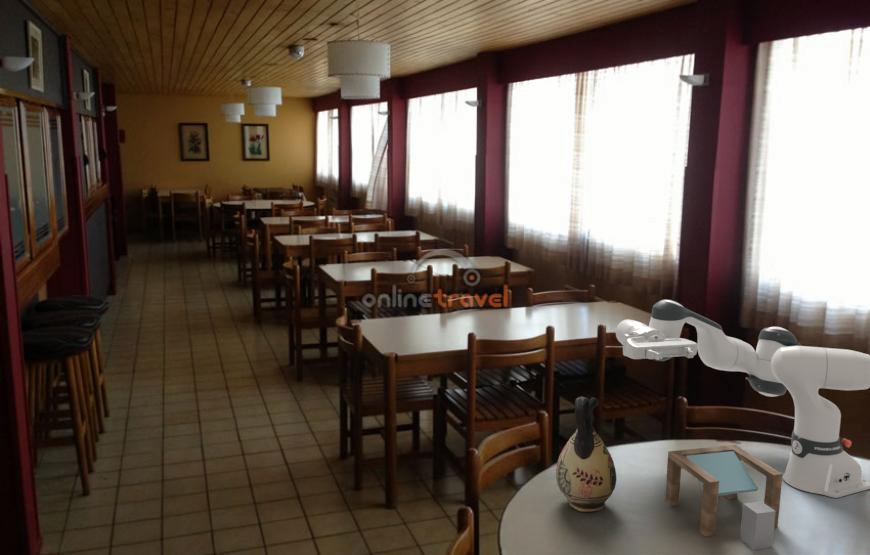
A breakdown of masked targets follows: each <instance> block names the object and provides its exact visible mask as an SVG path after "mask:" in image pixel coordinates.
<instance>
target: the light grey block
mask: <svg viewBox="0 0 870 555" xmlns="http://www.w3.org/2000/svg"><path fill="white" fill-rule="evenodd" d="M775 512H776V511H775V510H773V509H772V508H770V507H769V506H767V505H766V504H765V503H764V501H761V500H760V501H753V502H745V503H742V513H741V514H742V515H741V524H740V535H739V536H740V538H739V539H740V540H741V541H743V542H744V543H745V544H747V546H749V547H750V548H752V550H758V549H759V550H760V549H764V548H767V549H768V548H772V547H773V543H774V533H775V532H774V531H775V528H774V523H775Z"/></svg>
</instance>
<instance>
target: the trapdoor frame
mask: <svg viewBox="0 0 870 555" xmlns="http://www.w3.org/2000/svg"><path fill="white" fill-rule="evenodd" d="M730 451H734V453H735V454H736V456H737V457H738V459H739V460H740V461H742V462H743V463H745V464H746V465H748V466H749V467H751V468H752V469H754V470H756V471H757V472H759V473H760V474H762V475H763V476H765V477H766V479H765V486H764V487H765V488H764V498H763V503H765V504H766V505H767V506H769V507H770V508H772V509H773V510H775V511H776V512H775V523H774V529H775V528H778V527H779V517H780V516H779V515H780V506H781V496H782V484H783V475H784V473H782V472H780V471H779V470H778V469H775V468H773V467H772V466H770V465H769V464H767V463H766V462H764V461H762V460H760V459H759V458H757V457H755V455H753V454H751V453H749V452H747V451H746V450H744V449H742V448H741V447H739V446H738V445H737V444H730V445H719V446H711V447H702V448H701V447H699V448H693V449H692V448H691V449H681V450H679V449H678V450H670V451H667V452H668V453H667V462H666V463H667V464H666V481H665V494H664V495H665V496H664V497H665V498H664V503H666V504H667V505H669V506H670V507H671V506H679V505H680V490H681V477H682V469H683V470H685V471H686V472H688V474H690V475H691V476H692V477H694V478H695V479H696V480H697V479H698V480H699V481H701V482H702V483H703V488H702V498H701V508H700V509H701V511H700V512H701V513H700V525H699V532H700V533H701V534H702V535H704V536H705V537H715V536H716V527H717V526H716V525H717V517H718V516H717V515H718V512H717V511H718V502H719V501H718V500H719V496H718V491H719V481H718V480H717V479H716V478H714V477H713V476H711V475H710V474H709V473H707V472H706V471H704V470H703V469H702V468H700V467H699V466H698V465H696V464H695V463H693V462H692V461H691V460H689V459H688V458H686V456H690V455H700V454H710V453H720V452H730ZM698 480H697V481H698ZM738 494H739V493H736V494H728V495H723V496H724V497H725V498H727V499H728V500H732V499H737V498H738Z"/></svg>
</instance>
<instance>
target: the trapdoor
mask: <svg viewBox="0 0 870 555" xmlns="http://www.w3.org/2000/svg"><path fill="white" fill-rule="evenodd" d="M686 458H688V459H689V460H691V461H692V462H693V463H695V464H696V465H698V466H699V467H700V468H702V469H703V470H704V471H706V472H707V473H709V474H710V475H711V476H713V477H714V478H716V479H717V480H718V481H719V491H718V497H719V496H724V495H728V494H736V493H738V494H743V493H753V492H758V491H759V487H758V485H757V484H756V482H755V480H754V479H753V478H752V477H751V475H750V474H749V472H748V470H747V469H746V468H745V466H744V465H743V464H742V462H741V460H739V459H738V457H737V456H736V454H735V453H734V451H730V452H720V453H710V454H700V455H690V456H686ZM696 480H697V481H698V484H699V485H700V486H701V488H702V489H703V483H702V482H701V481H699V480H698V479H697V478H696Z"/></svg>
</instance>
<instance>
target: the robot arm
mask: <svg viewBox="0 0 870 555" xmlns="http://www.w3.org/2000/svg"><path fill="white" fill-rule="evenodd" d="M685 324H688V325H691V326H693V327H695V329H696V333H697V335H696V336H697V342H695V341H693V340H690V339H687V338H682V337H681V335H682V330H683V327H684V325H685ZM615 338H616V339H617V341H618V342H619V343H620V344H621V345H622V355H623V356H624V357H628V358H630V359H632V360H643V359H645V360H646V359H648V360H651V361H656V362H665V361H669V360H670V359H672V358H674V357H685V358H687V359H693V358H694V356H696V355H697V353H698V356H699V358H700V360H701V361H702V363H703V364H704V365H705V366H707V367H710V368H712V369H714V370H718V371H725V372H741V373H746V374H748V376H749V377H747V376H745V380H747V381H748V382H749V384H750V386H751V388H752V389H753V390H754V391H755V392H758V393H759V394H760V395H763V396H765V397H770V398H771V397H779V396H784V395H785V394H786V393H787V390H788V392H789V394H790V395H791V398H792V400H793V405H794V426H793V430H792V433H791V440H790V446H791V449H790V451H789V452H790V454H789V457H788V460H787V465H786V467H785V471H784V473H783V476H782V480H784V482H785V483H787V485H790V486H791V487H793V488H796V489H798V490H799V491H804V492H806V493H811V494H818V495H823V496H827V497H830V498H832V499H833V498H835V499H837V498H841V497H844V496H848V495H852V494H855V493H860V492H863V491H867V490H870V482H869V481H868V480H867V479H866V478H864V477H863V475H862V467H861V465H860V463H859V462H858V461H857V460H856V459H855V458H854V457H853V456H851V455H850V454H848V453H847V452H846V451H845V450H844V448H843V446H844V447H846V448H850V447H851V446H852V444H853V442H852V441H851V440H850V439H847V438H846V437H842V438H841V436H840V429H841V420H842V419H841V418H842V413H841V410H840V409H839V407H838V406H837V405H836V404H835V403H834V402H832V401H831V400H829V399H826V398H825V397H823V396H821V395H820V394H819V390H820V389H828V390H839V391H859V390H860V391H861V390H868V389H869V388H870V354H868V353H863V352H862V351H861V352H860V351H856V350H854V349H853V350H851V349H846V348H845V349H844V348H831V347H822V346H821V347H819V346H809V345H808V346H806V345H802V344H801V342H798V340H797V338H796V335H794V334H793V333H792V331H789V330H787V329H786V328H783V327H781V326H770V327H769V326H768V327H764V328H763V329H761V330H760V332H759V335H758V336H757V339H758V340H757V345H756V349H754V347H753V346H752V345H751V344H749V343H748V342H745V341H743V340H742V339H739V338H736V337H732V336H728V335H726V334H725V332H724V330H723V328H722V325H720V324H719V323H717V321H716V322H715V321H714V320H711V319H710V318H707V317H705V316H703V315H701V314H700V313H696V312H694V311H692V310H690V309H688V308H687V307H685V306H683V304H681V303H679V302H677V301H674V300H672V299H661V300H659V301H657V302H656V303H654V304H653V305H652V308H651V314H650V319H649V323H648V325H647V324H646V323H643V322H640V321H637V320H634V319H626V318H625V319H623V320H621V321H620V322H619V323H618V325H617V327H616V330H615Z"/></svg>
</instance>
